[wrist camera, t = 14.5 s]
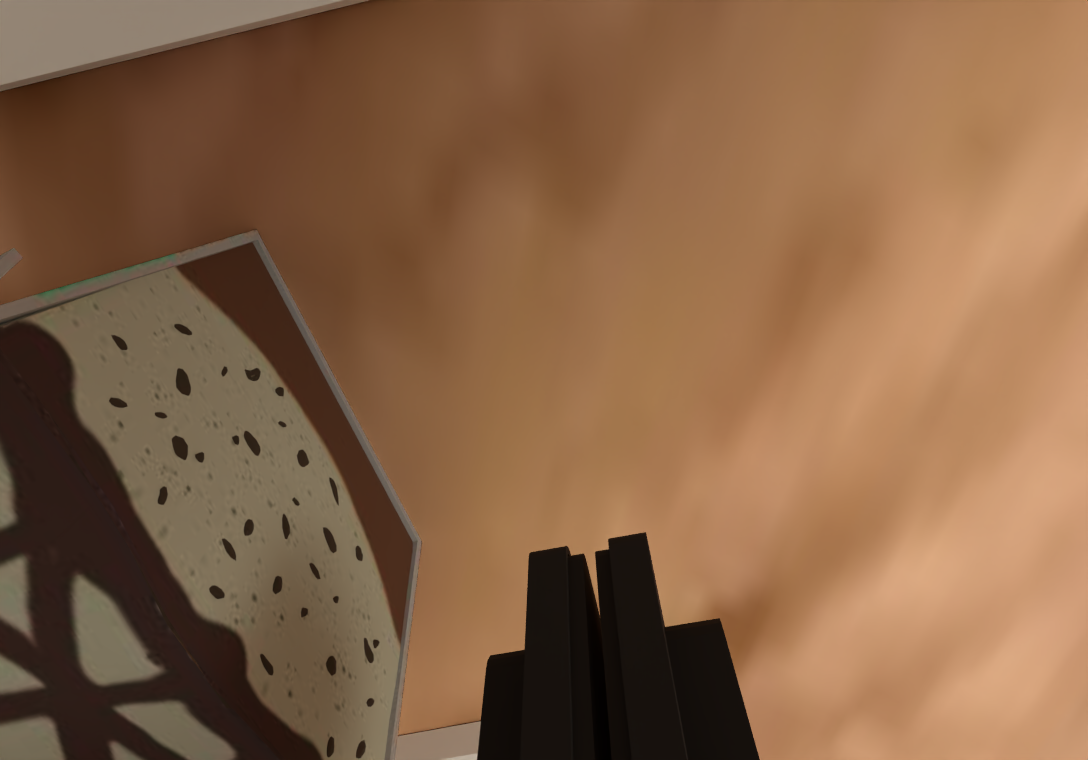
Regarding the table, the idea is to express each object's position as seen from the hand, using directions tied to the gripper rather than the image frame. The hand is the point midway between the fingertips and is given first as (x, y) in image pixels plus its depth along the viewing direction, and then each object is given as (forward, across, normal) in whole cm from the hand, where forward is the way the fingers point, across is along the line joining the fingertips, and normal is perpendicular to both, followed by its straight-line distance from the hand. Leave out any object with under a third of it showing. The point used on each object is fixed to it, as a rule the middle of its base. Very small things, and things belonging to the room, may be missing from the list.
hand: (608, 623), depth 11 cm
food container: (+10, +9, 0) cm, 13 cm away
